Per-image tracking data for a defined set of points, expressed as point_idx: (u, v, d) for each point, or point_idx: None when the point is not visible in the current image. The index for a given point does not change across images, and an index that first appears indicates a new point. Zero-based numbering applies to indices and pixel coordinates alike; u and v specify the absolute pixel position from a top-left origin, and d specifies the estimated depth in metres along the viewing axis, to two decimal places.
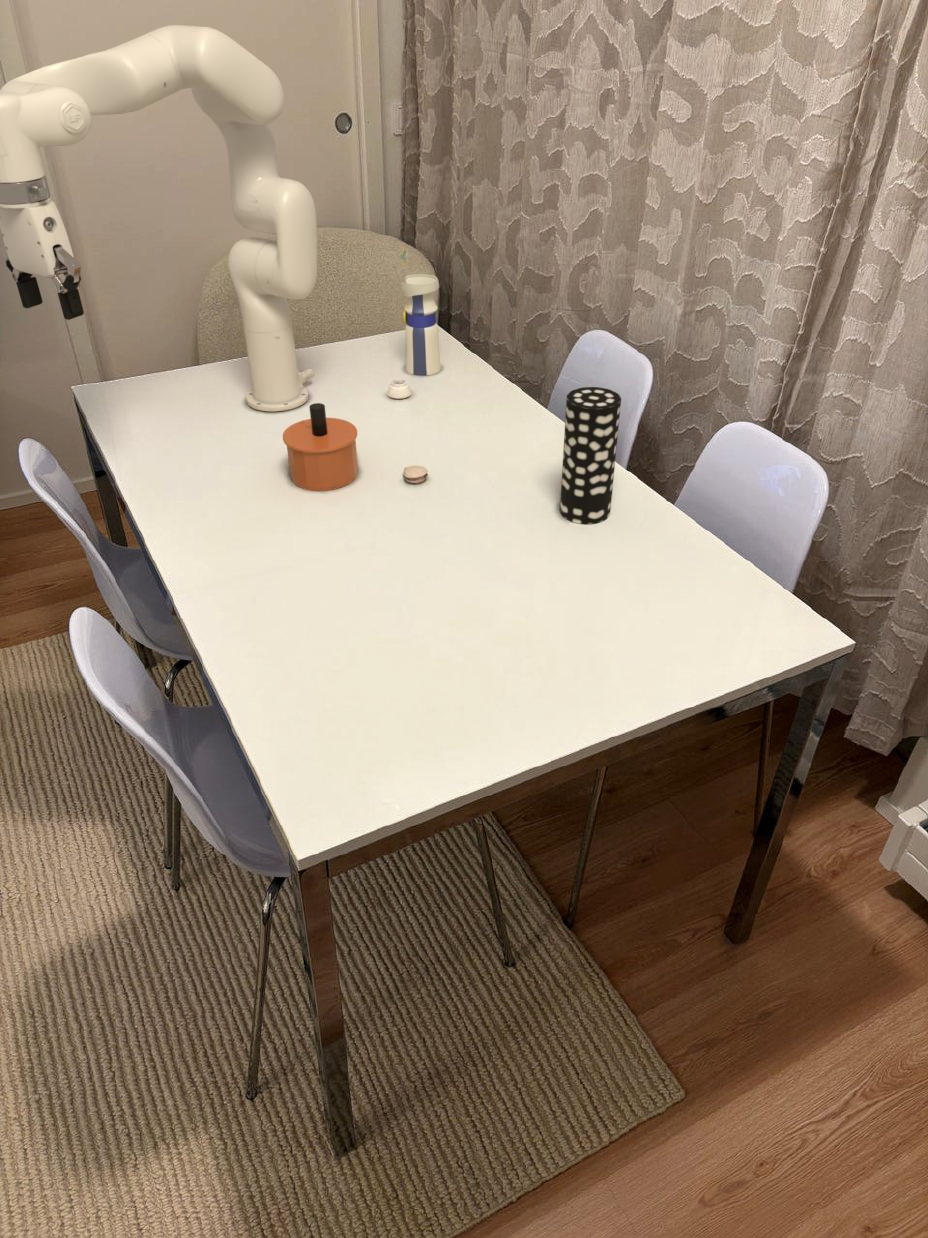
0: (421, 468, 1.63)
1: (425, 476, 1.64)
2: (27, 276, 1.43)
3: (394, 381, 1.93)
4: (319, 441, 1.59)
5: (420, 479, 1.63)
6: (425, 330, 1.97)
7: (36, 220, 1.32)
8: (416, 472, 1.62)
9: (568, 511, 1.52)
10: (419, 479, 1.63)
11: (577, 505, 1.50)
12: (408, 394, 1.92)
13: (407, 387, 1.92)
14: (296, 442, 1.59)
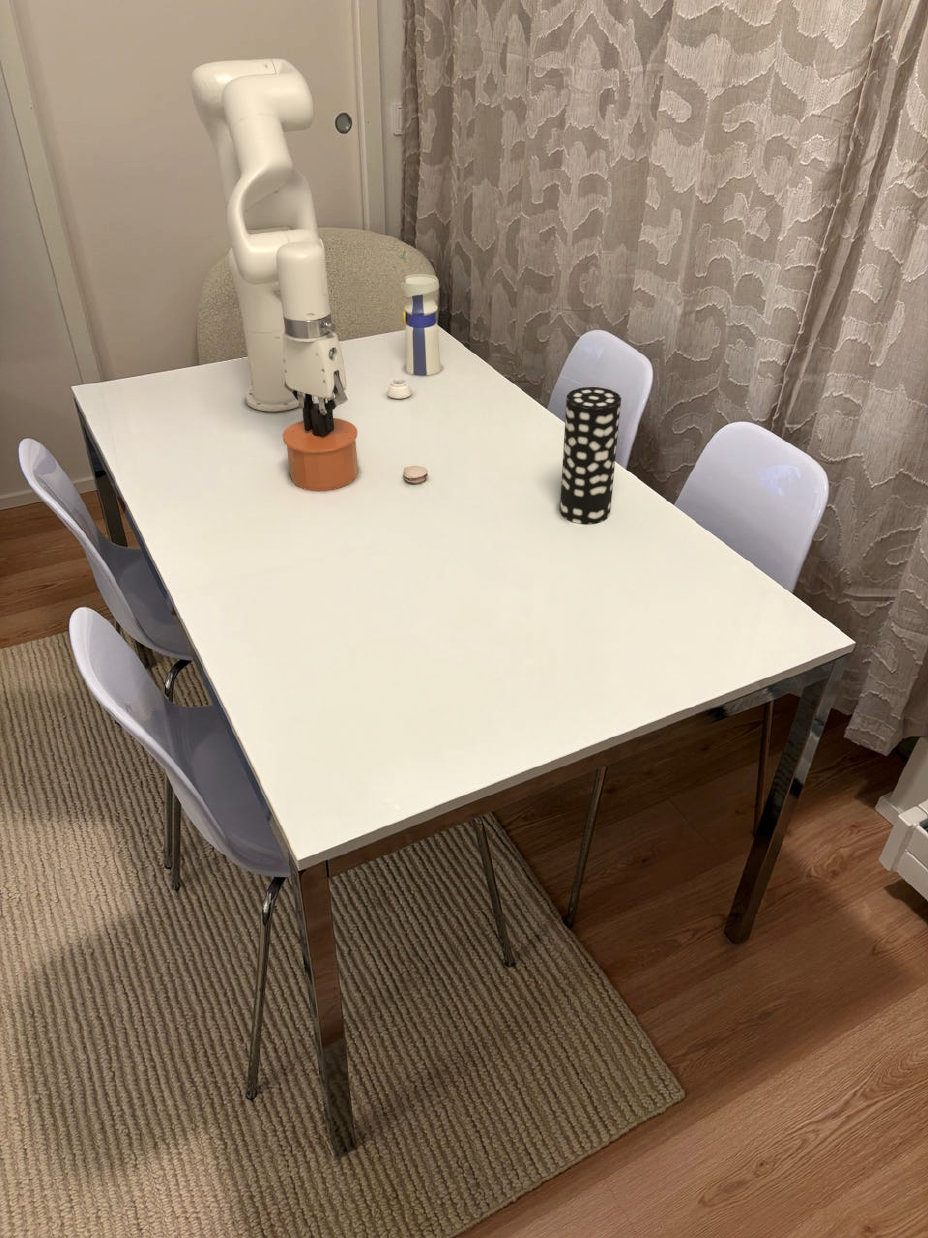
0: (421, 468, 1.63)
1: (425, 476, 1.64)
2: (311, 403, 1.59)
3: (394, 381, 1.93)
4: (319, 441, 1.59)
5: (420, 479, 1.63)
6: (425, 330, 1.97)
7: (323, 351, 1.49)
8: (416, 472, 1.62)
9: (568, 511, 1.52)
10: (419, 479, 1.63)
11: (577, 505, 1.50)
12: (408, 394, 1.92)
13: (407, 387, 1.92)
14: (296, 442, 1.59)
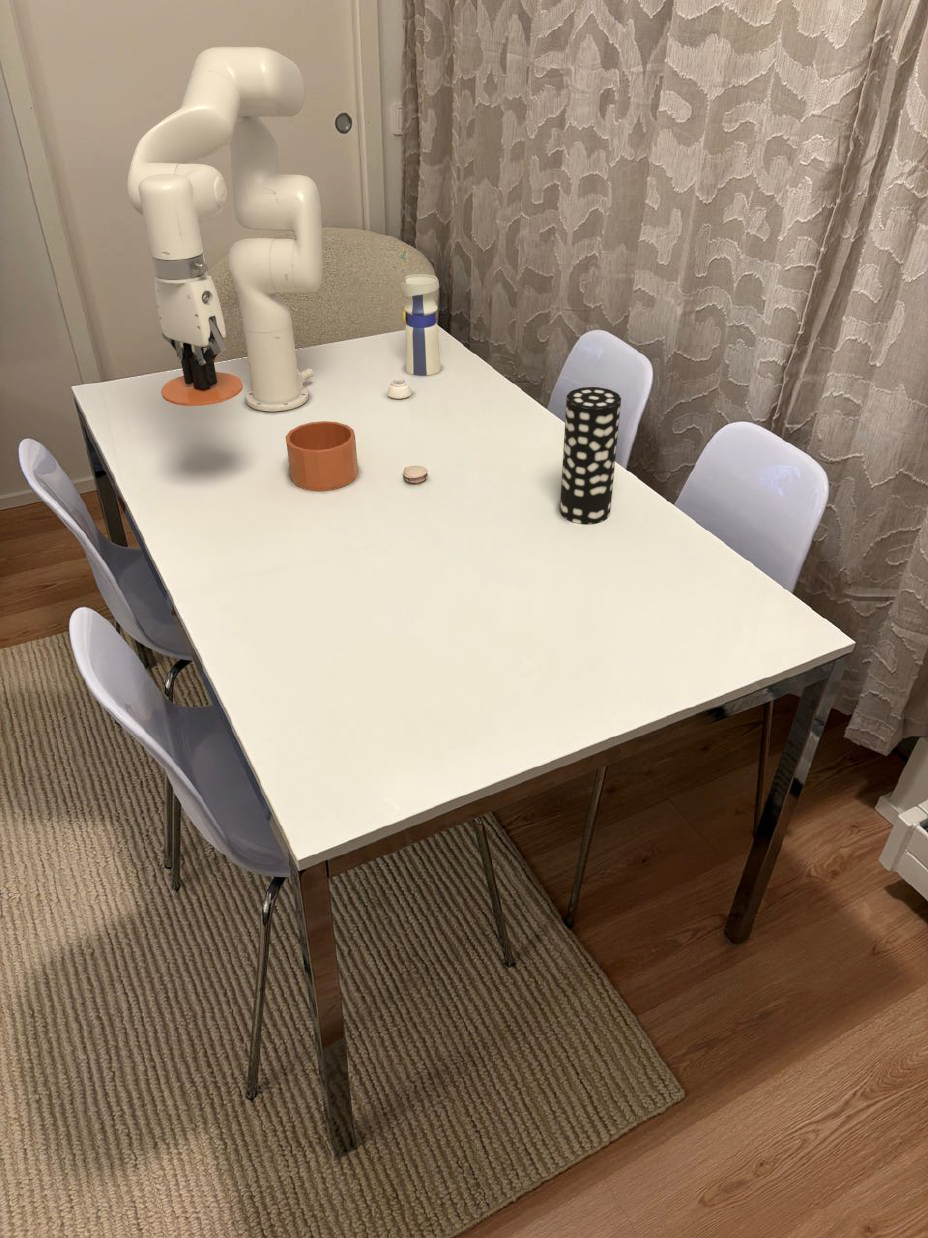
0: (421, 468, 1.63)
1: (425, 476, 1.64)
2: (191, 354, 1.49)
3: (394, 381, 1.93)
4: (199, 395, 1.48)
5: (420, 479, 1.63)
6: (425, 330, 1.97)
7: (195, 294, 1.38)
8: (416, 472, 1.62)
9: (568, 511, 1.52)
10: (419, 479, 1.63)
11: (577, 505, 1.50)
12: (408, 394, 1.92)
13: (407, 387, 1.92)
14: (174, 395, 1.48)
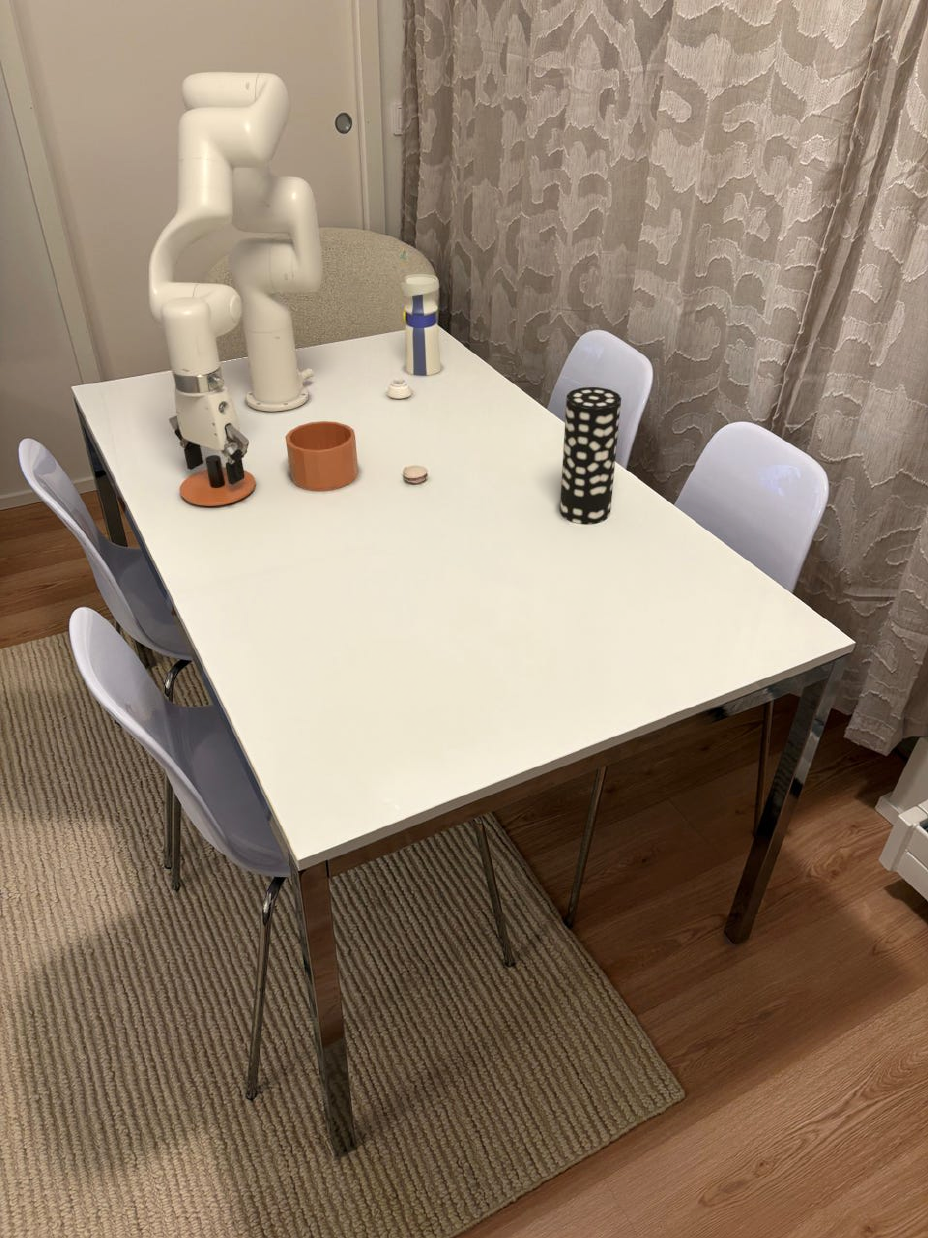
0: (421, 468, 1.63)
1: (425, 476, 1.64)
2: (193, 443, 1.60)
3: (394, 381, 1.93)
4: (215, 494, 1.59)
5: (420, 479, 1.63)
6: (425, 330, 1.97)
7: (212, 405, 1.49)
8: (416, 472, 1.62)
9: (568, 511, 1.52)
10: (419, 479, 1.63)
11: (577, 505, 1.50)
12: (408, 394, 1.92)
13: (407, 387, 1.92)
14: (192, 494, 1.59)
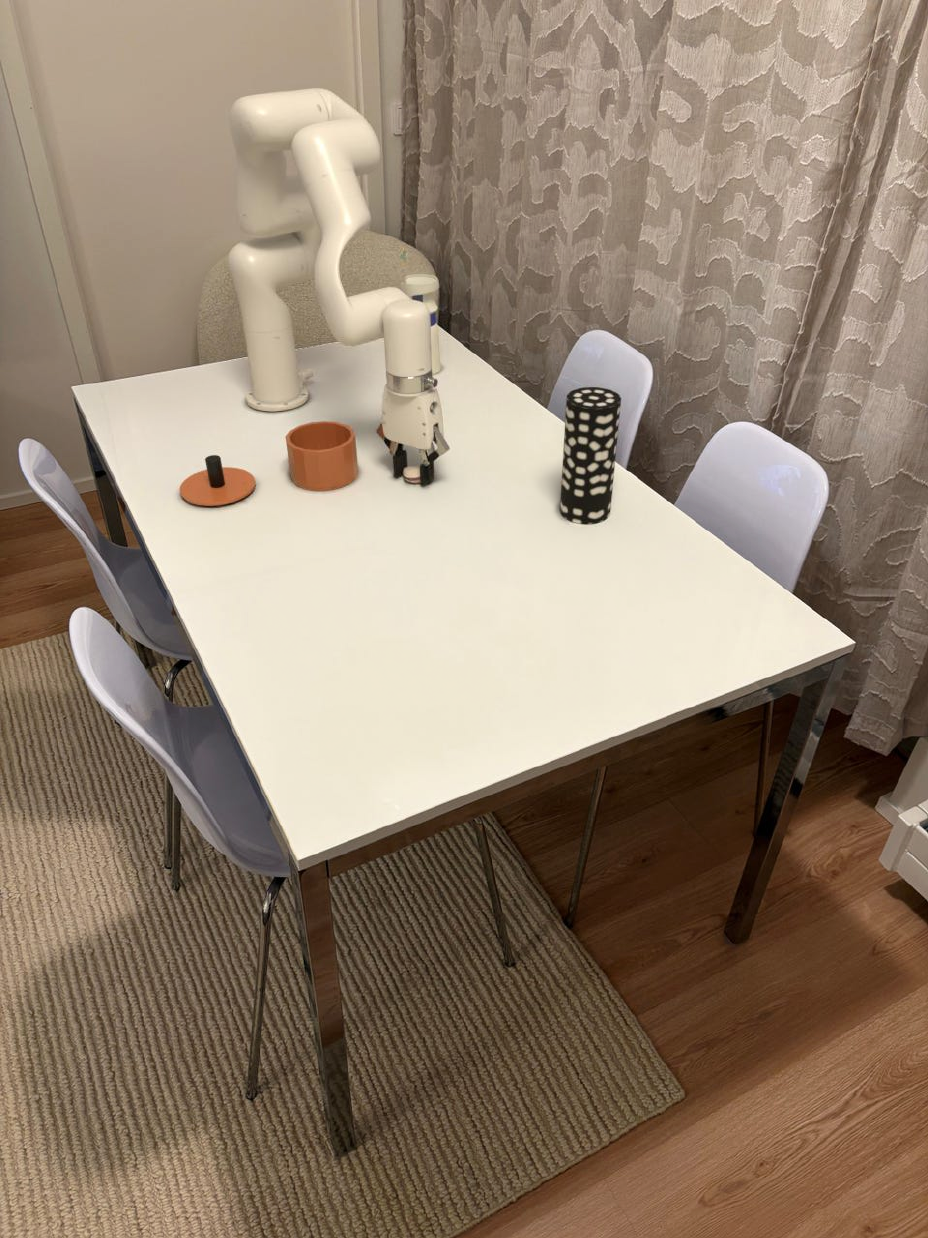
0: None
1: None
2: (401, 451, 1.63)
3: None
4: (215, 494, 1.59)
5: None
6: None
7: (425, 405, 1.52)
8: (416, 472, 1.62)
9: (568, 511, 1.52)
10: (419, 479, 1.63)
11: (577, 505, 1.50)
12: None
13: None
14: (192, 494, 1.59)
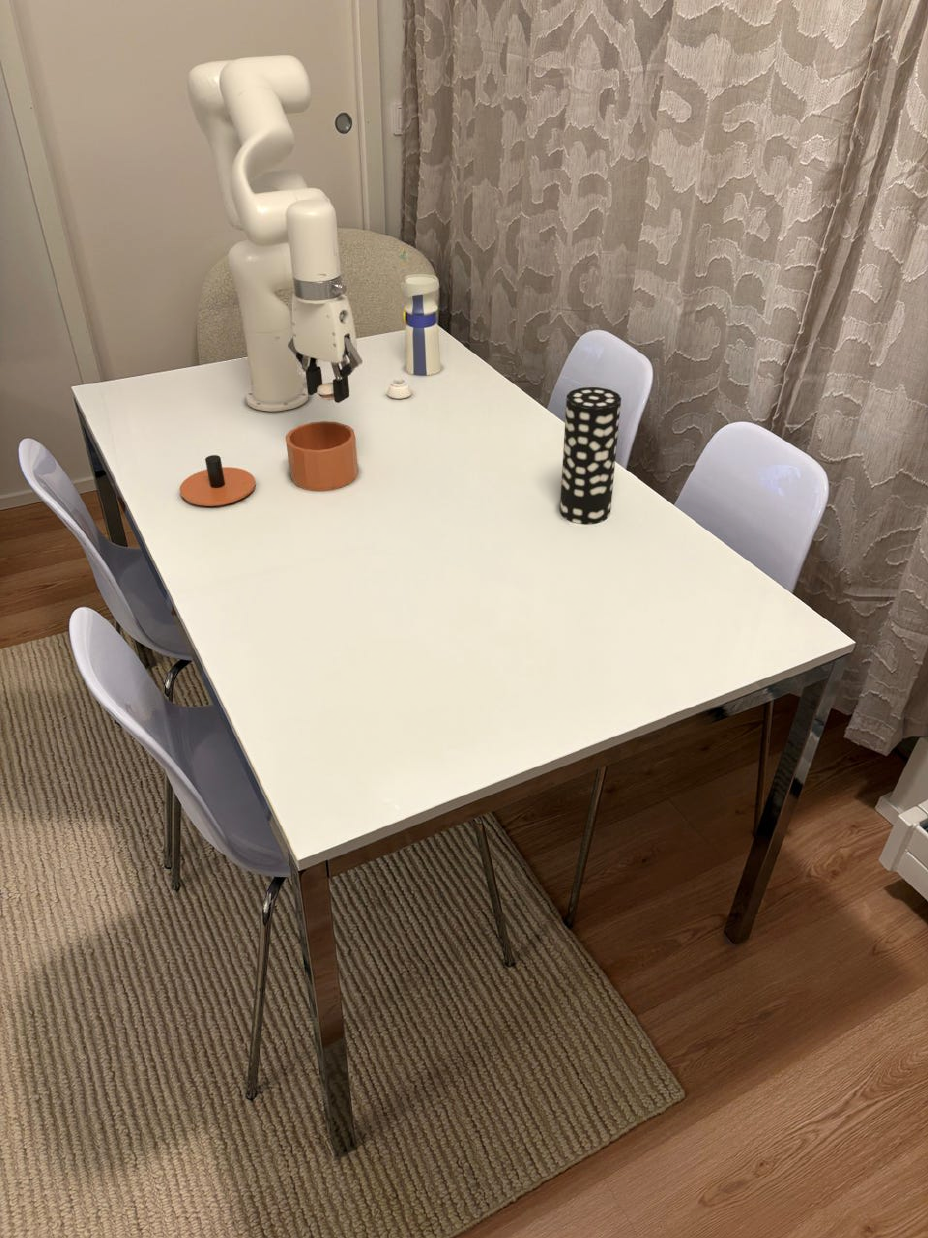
0: None
1: None
2: (314, 366, 1.56)
3: (394, 381, 1.93)
4: (215, 494, 1.59)
5: None
6: (425, 330, 1.97)
7: (334, 313, 1.45)
8: (329, 388, 1.55)
9: (568, 511, 1.52)
10: (333, 396, 1.56)
11: (577, 505, 1.50)
12: (408, 394, 1.92)
13: (407, 387, 1.92)
14: (192, 494, 1.59)
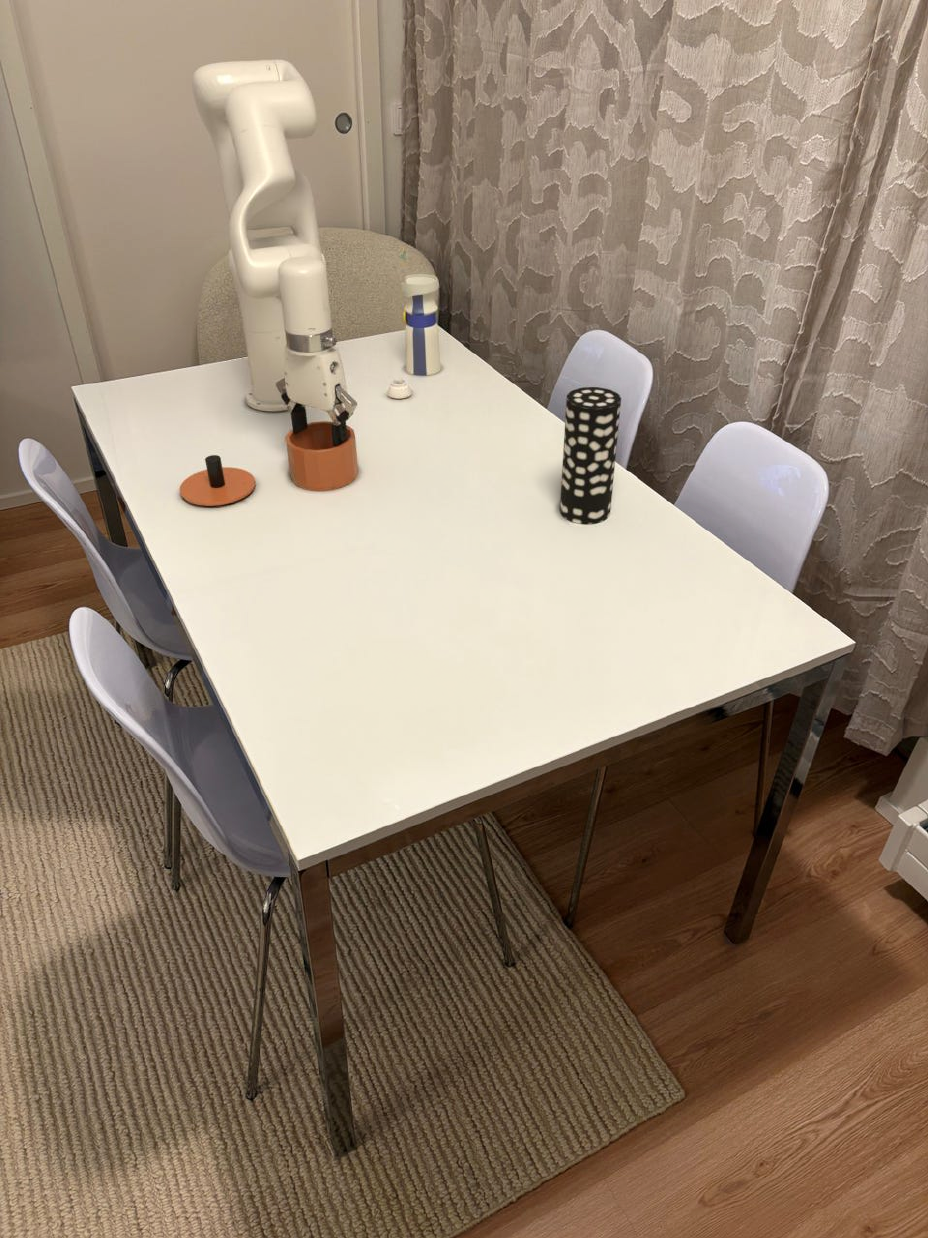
0: None
1: None
2: (299, 407, 1.61)
3: (394, 381, 1.93)
4: (215, 494, 1.59)
5: None
6: (425, 330, 1.97)
7: (325, 365, 1.50)
8: None
9: (568, 511, 1.52)
10: None
11: (577, 505, 1.50)
12: (408, 394, 1.92)
13: (407, 387, 1.92)
14: (192, 494, 1.59)
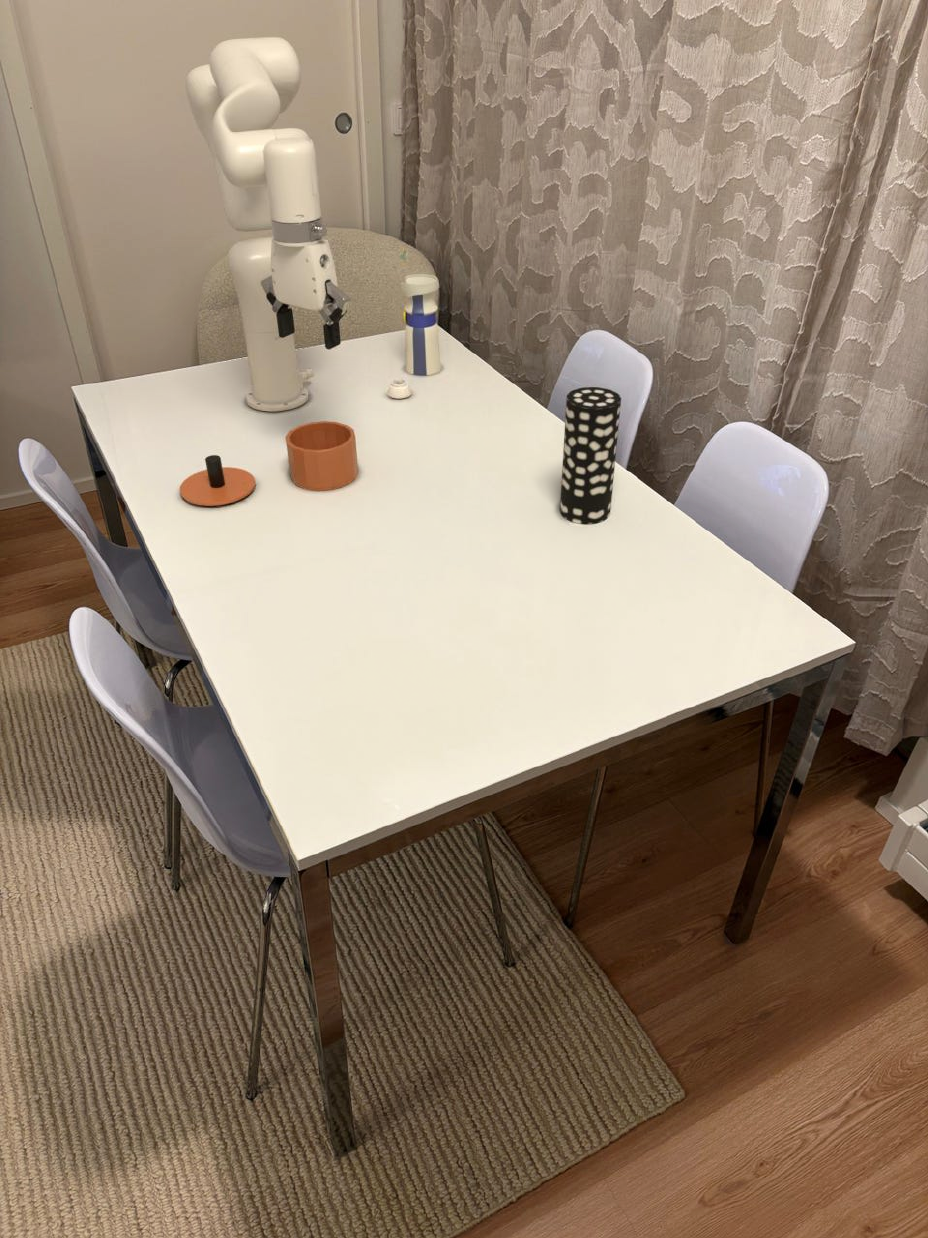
0: None
1: None
2: (285, 308, 1.51)
3: (394, 381, 1.93)
4: (215, 494, 1.59)
5: None
6: (425, 330, 1.97)
7: (314, 257, 1.40)
8: None
9: (568, 511, 1.52)
10: None
11: (577, 505, 1.50)
12: (408, 394, 1.92)
13: (407, 387, 1.92)
14: (192, 494, 1.59)
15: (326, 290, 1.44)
